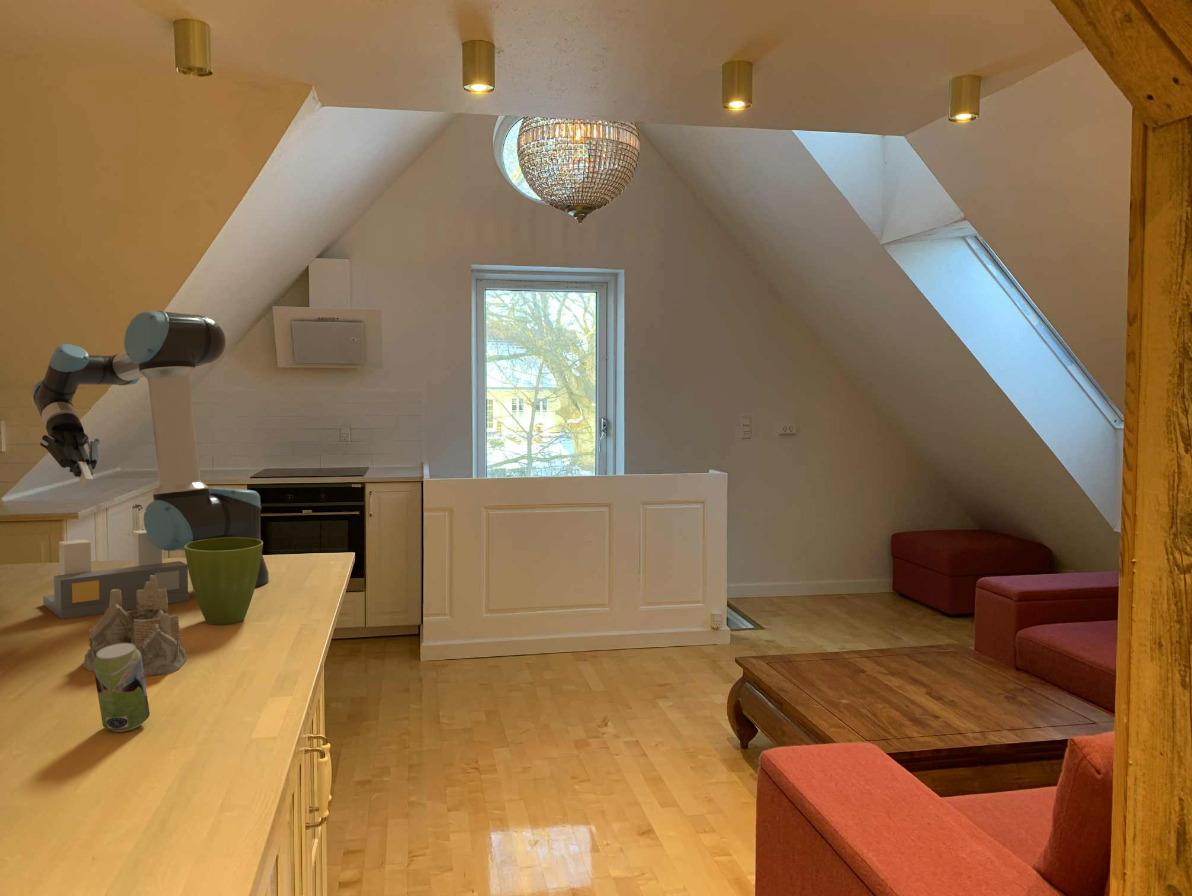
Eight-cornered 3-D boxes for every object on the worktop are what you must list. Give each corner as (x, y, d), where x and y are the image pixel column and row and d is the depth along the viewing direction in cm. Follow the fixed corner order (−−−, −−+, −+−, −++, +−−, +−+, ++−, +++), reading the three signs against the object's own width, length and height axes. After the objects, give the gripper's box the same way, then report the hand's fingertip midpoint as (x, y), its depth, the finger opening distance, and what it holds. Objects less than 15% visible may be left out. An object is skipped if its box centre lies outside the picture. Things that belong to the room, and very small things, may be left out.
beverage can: (158, 719, 131) (157, 639, 130) (127, 739, 124) (126, 654, 123) (118, 717, 132) (116, 637, 131) (84, 736, 125) (83, 652, 124)
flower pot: (235, 633, 176) (235, 552, 175) (168, 627, 179) (167, 548, 178) (277, 614, 191) (277, 539, 190) (214, 609, 194) (214, 535, 192)
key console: (43, 604, 194) (42, 568, 193) (165, 588, 211) (165, 554, 210) (61, 619, 183) (61, 580, 182) (188, 600, 200) (188, 565, 200)
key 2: (133, 582, 206) (132, 531, 205) (156, 579, 209) (155, 528, 209) (139, 585, 203) (138, 533, 202) (162, 582, 207) (161, 531, 206)
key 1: (60, 597, 191) (58, 541, 190) (86, 594, 195) (85, 539, 194) (65, 601, 188) (63, 544, 187) (91, 597, 192) (90, 542, 191)
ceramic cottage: (87, 654, 160) (88, 572, 158) (188, 649, 167) (190, 571, 165) (73, 688, 146) (74, 599, 144) (184, 681, 152) (186, 595, 150)
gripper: (87, 438, 228) (113, 496, 215) (29, 434, 218) (52, 495, 205) (95, 414, 225) (122, 471, 212) (37, 409, 215) (61, 469, 202)
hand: (88, 483), depth 208 cm, fingers closed
